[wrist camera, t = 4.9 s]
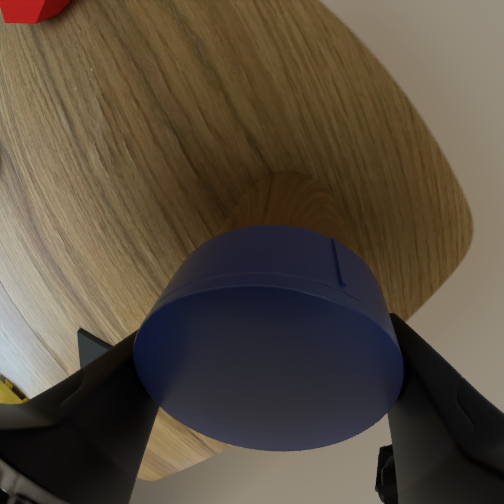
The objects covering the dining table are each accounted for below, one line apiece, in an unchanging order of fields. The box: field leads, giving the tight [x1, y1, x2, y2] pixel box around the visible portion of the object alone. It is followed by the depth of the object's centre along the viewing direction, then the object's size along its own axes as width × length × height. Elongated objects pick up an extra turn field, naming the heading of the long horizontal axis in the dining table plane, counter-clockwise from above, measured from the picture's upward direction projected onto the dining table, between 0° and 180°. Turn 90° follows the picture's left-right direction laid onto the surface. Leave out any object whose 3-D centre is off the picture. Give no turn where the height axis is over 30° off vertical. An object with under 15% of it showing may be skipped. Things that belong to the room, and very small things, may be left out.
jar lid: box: [133, 225, 405, 451], centre depth 8 cm, size 7×7×3 cm
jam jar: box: [217, 172, 354, 252], centre depth 12 cm, size 6×6×10 cm
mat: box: [77, 328, 112, 368], centre depth 27 cm, size 10×10×1 cm
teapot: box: [0, 379, 28, 404], centre depth 38 cm, size 14×20×13 cm
